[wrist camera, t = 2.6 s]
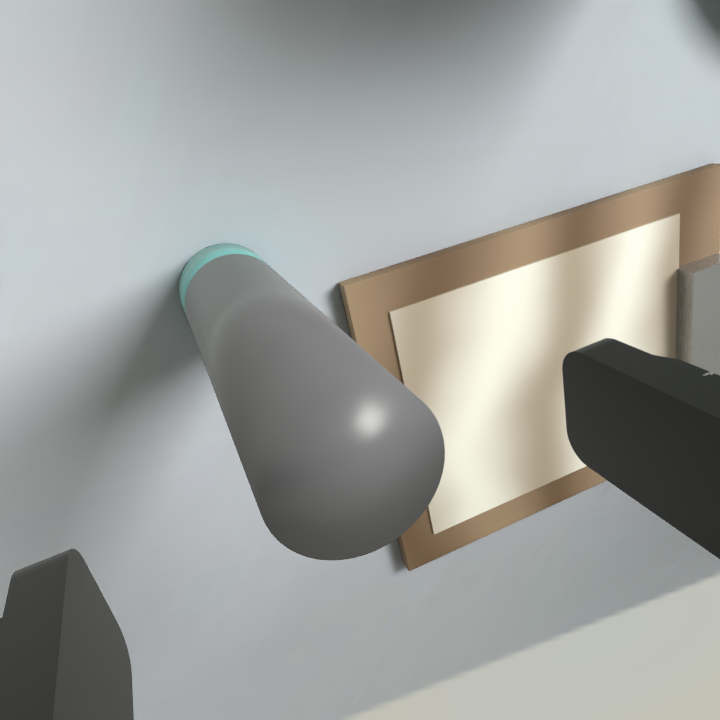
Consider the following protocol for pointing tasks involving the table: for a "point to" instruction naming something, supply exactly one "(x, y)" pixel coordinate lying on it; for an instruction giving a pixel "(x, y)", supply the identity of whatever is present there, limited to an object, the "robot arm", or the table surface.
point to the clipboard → (537, 339)
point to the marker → (309, 411)
